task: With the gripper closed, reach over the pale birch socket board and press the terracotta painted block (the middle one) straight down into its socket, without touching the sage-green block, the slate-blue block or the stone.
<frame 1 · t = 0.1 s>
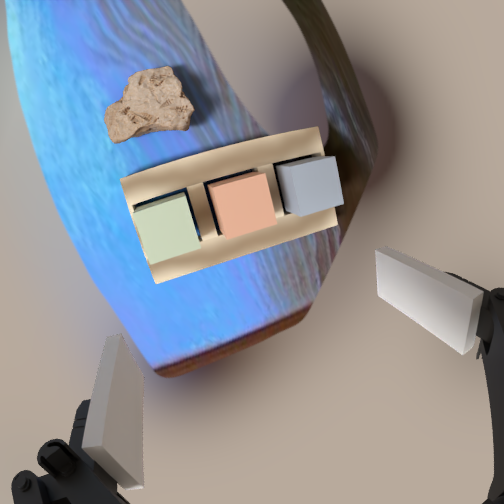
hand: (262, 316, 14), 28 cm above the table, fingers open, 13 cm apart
stone: (153, 113, 35), on the table
slate block: (309, 184, 37), point 5 cm above the table, slide at 0.0 cm
socket board: (232, 198, 40), on the table
terracotta block: (241, 203, 36), point 5 cm above the table, slide at 0.0 cm
sage block: (167, 226, 34), point 5 cm above the table, slide at 0.0 cm
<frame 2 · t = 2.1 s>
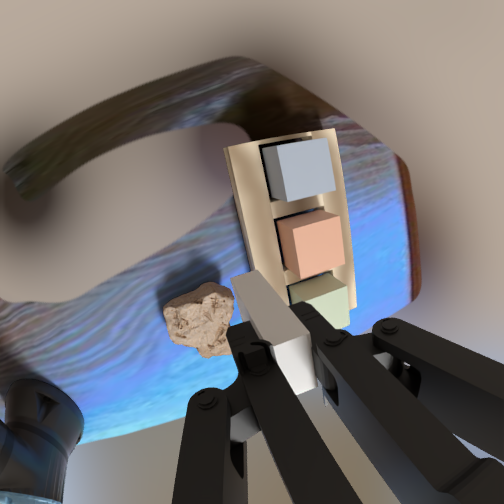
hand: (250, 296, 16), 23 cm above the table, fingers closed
stone: (205, 312, 41), on the table
slate block: (298, 168, 34), point 5 cm above the table, slide at 0.0 cm
socket board: (294, 233, 41), on the table
terracotta block: (311, 242, 37), point 5 cm above the table, slide at 0.0 cm
sage block: (319, 305, 40), point 5 cm above the table, slide at 0.0 cm
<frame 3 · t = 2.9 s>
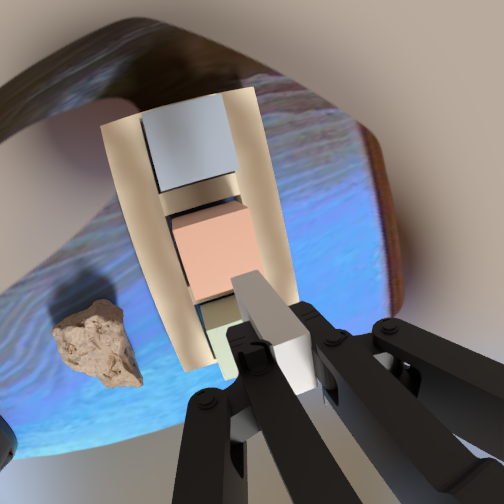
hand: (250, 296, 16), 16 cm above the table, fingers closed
stone: (106, 334, 31), on the table
slate block: (188, 143, 23), point 5 cm above the table, slide at 0.0 cm
socket board: (208, 234, 31), on the table
terracotta block: (216, 247, 26), point 5 cm above the table, slide at 0.0 cm
sage block: (241, 333, 29), point 5 cm above the table, slide at 0.0 cm
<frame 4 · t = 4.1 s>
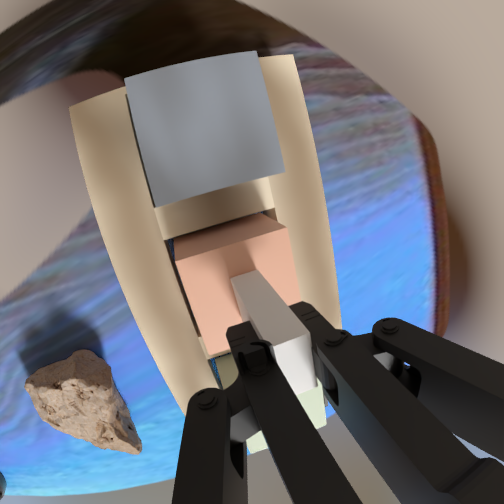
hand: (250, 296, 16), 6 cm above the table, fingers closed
stone: (92, 387, 22), on the table
slate block: (200, 129, 14), point 5 cm above the table, slide at 0.0 cm
socket board: (225, 261, 22), on the table
terracotta block: (236, 279, 19), point 4 cm above the table, slide at 1.4 cm, touching gripper
sage block: (271, 394, 20), point 5 cm above the table, slide at 0.0 cm
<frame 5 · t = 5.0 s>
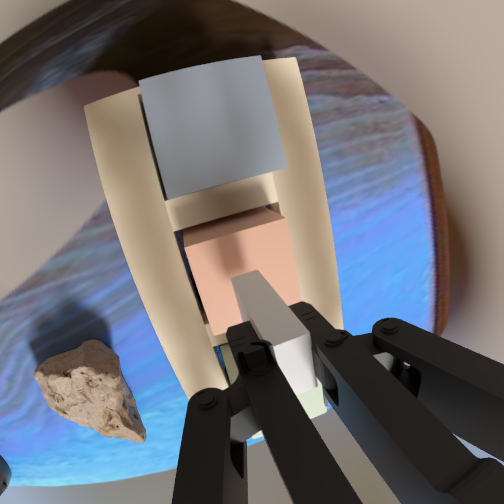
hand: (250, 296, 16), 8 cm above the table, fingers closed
stone: (100, 377, 24), on the table
slate block: (208, 127, 16), point 5 cm above the table, slide at 0.0 cm
socket board: (231, 253, 23), on the table
terracotta block: (239, 266, 20), point 3 cm above the table, slide at 2.0 cm
sage block: (274, 381, 22), point 5 cm above the table, slide at 0.0 cm
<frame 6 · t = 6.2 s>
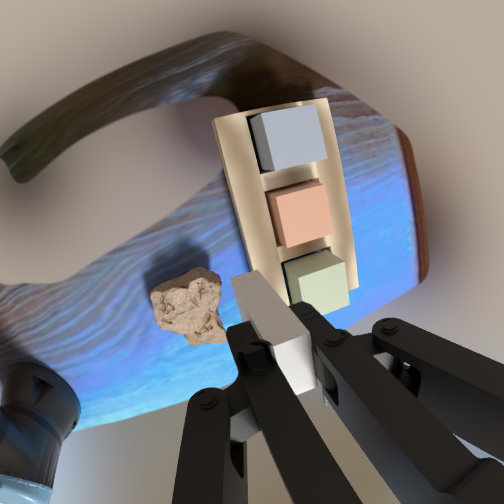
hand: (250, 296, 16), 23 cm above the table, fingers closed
stone: (194, 298, 40), on the table
slate block: (287, 137, 31), point 5 cm above the table, slide at 0.0 cm
socket board: (289, 208, 39), on the table
terracotta block: (298, 212, 36), point 3 cm above the table, slide at 2.0 cm
sage block: (317, 284, 38), point 5 cm above the table, slide at 0.0 cm
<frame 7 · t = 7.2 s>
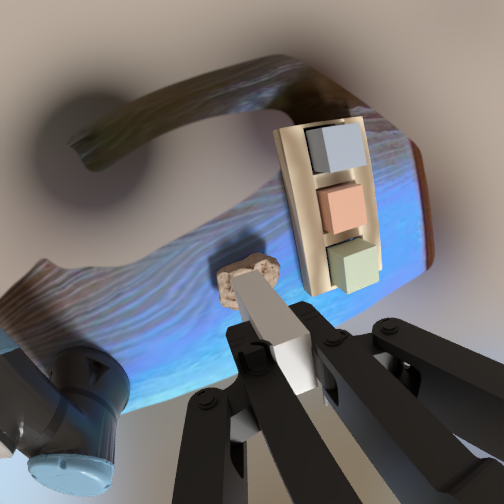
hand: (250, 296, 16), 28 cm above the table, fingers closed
stone: (250, 280, 48), on the table
slate block: (336, 147, 40), point 5 cm above the table, slide at 0.0 cm
socket board: (330, 203, 47), on the table
terracotta block: (339, 206, 44), point 3 cm above the table, slide at 2.0 cm
sage block: (353, 264, 46), point 5 cm above the table, slide at 0.0 cm
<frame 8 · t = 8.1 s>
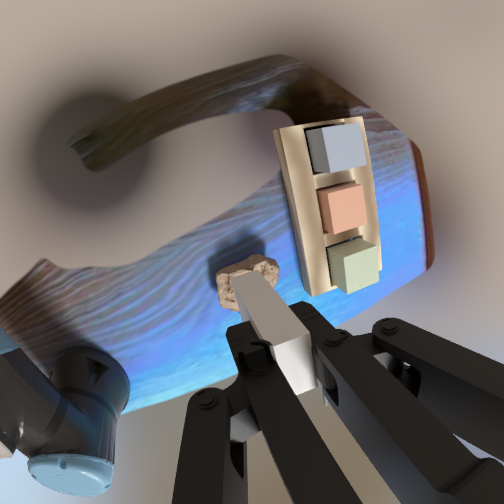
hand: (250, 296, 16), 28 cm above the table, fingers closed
stone: (249, 281, 48), on the table
slate block: (336, 147, 40), point 5 cm above the table, slide at 0.0 cm
socket board: (330, 203, 47), on the table
terracotta block: (339, 206, 44), point 3 cm above the table, slide at 2.0 cm
sage block: (353, 264, 46), point 5 cm above the table, slide at 0.0 cm
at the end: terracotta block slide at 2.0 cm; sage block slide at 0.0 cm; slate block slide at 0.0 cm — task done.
